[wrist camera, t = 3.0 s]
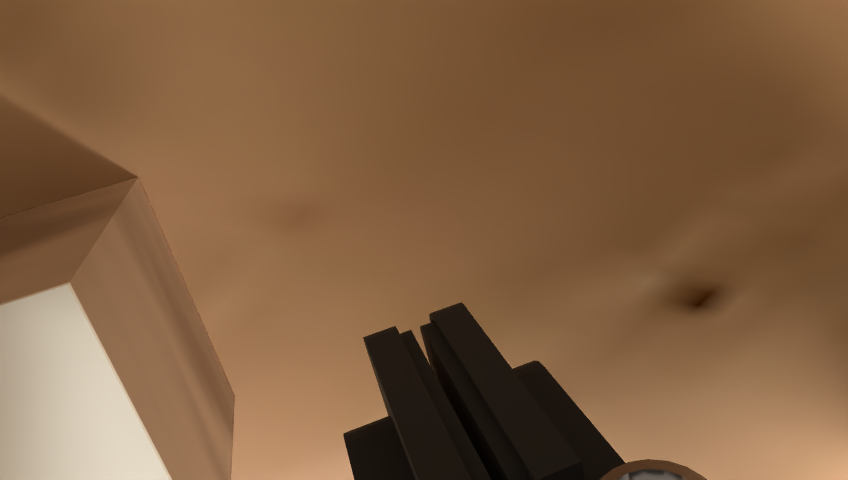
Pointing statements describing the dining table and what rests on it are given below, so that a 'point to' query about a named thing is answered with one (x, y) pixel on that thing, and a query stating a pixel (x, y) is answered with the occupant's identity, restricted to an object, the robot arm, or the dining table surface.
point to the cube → (104, 349)
